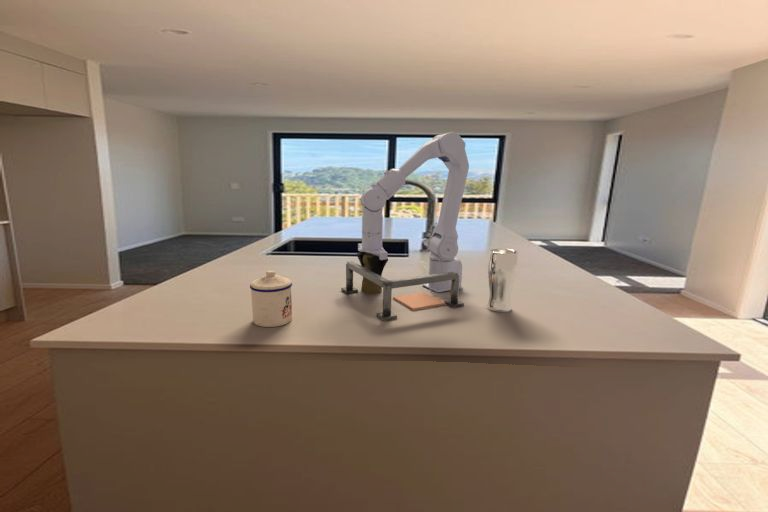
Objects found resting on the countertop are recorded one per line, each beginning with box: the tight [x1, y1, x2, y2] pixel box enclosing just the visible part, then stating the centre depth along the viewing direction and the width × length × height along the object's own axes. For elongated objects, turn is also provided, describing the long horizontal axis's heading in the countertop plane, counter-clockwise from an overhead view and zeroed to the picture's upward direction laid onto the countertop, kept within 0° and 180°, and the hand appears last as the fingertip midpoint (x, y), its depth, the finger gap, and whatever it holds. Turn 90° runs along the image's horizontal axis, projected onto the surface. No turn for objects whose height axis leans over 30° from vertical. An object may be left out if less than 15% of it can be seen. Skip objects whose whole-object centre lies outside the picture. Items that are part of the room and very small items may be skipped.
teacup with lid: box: [249, 269, 293, 328], centre depth 90 cm, size 12×9×12 cm
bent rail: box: [340, 260, 465, 322], centre depth 106 cm, size 24×26×9 cm
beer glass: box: [486, 248, 519, 313], centre depth 99 cm, size 7×7×15 cm
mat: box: [392, 291, 446, 312], centre depth 104 cm, size 10×10×1 cm
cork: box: [360, 253, 383, 295], centre depth 112 cm, size 6×6×11 cm
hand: (371, 279), depth 112 cm, fingers closed on cork, 5 cm apart
